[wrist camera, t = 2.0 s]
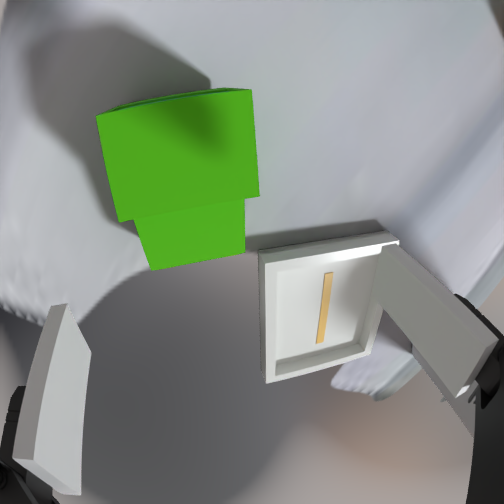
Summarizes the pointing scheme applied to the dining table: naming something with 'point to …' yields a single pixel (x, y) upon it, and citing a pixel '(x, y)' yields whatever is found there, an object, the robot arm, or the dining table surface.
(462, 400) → the cylinder vase
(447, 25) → the dining table surface
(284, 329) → the tray
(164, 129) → the toy car
